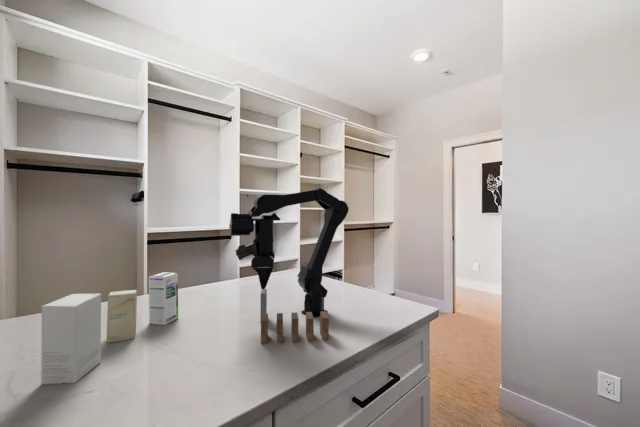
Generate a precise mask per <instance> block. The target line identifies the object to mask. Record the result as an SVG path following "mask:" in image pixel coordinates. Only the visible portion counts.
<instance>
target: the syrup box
mask: <svg viewBox="0 0 640 427" xmlns="http://www.w3.org/2000/svg"><path fill="white" fill-rule="evenodd" d="M148 309H149V310H148V315H149V316H148V321H149V324H150V325H151V324H152V325H160V326H166V325H168V324H169V323H171V322H174V321H175V320H177V319H179V274H178V273H177V272H172V271H171V272H170V271H168V272H167V271H166V272H165V271H164V272H163V271H162V272H161V273H160V272H159V273H157V274H154V275H149V276H148Z"/></svg>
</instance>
